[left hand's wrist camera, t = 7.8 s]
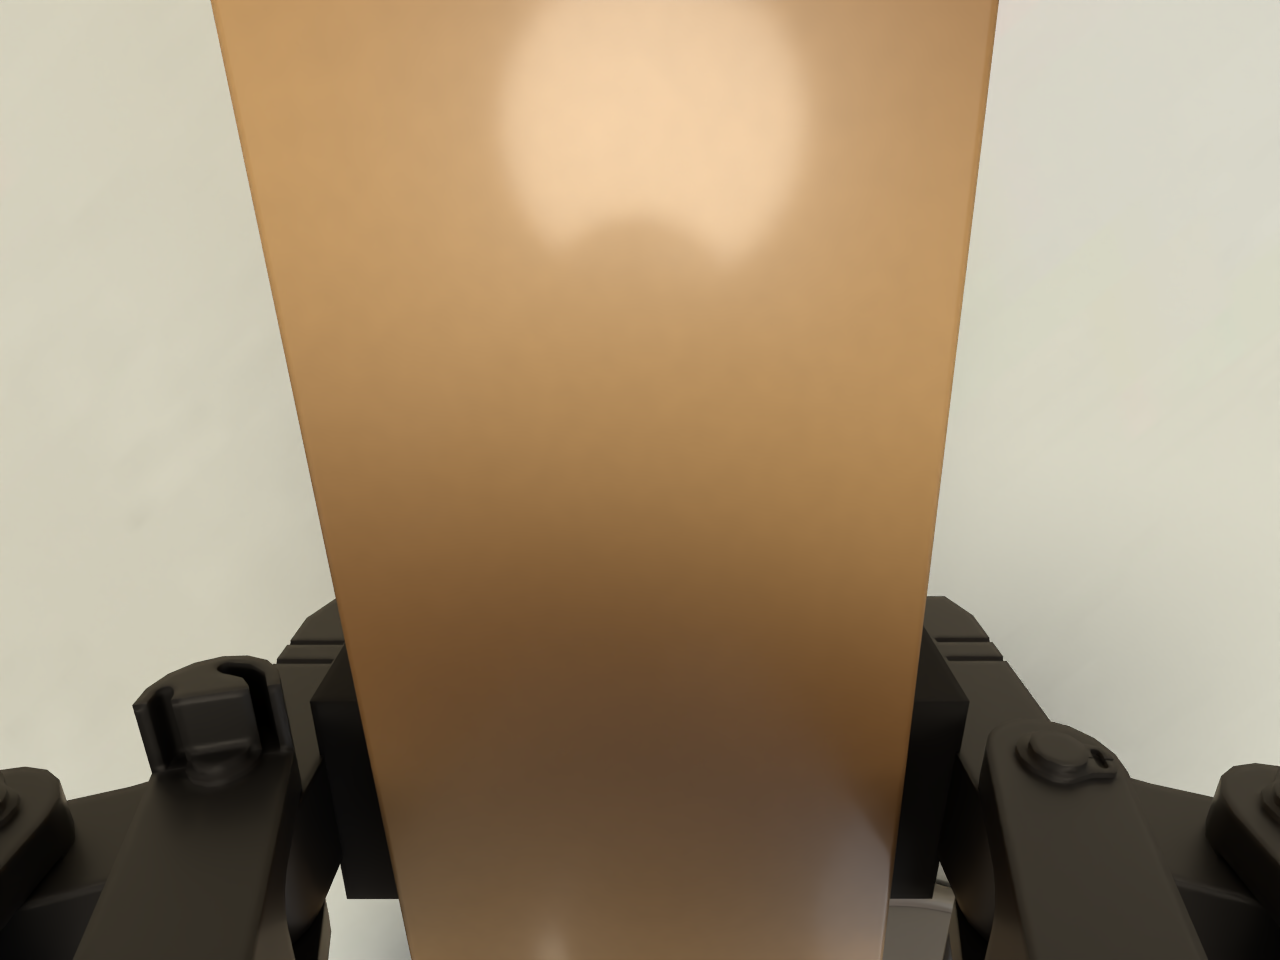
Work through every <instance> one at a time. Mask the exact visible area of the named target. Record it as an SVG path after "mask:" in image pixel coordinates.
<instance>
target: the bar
mask: <svg viewBox="0 0 1280 960" xmlns="http://www.w3.org/2000/svg"><path fill="white" fill-rule="evenodd" d="M211 4H212V9H213V14H214V19H215V23H216V28H217V33H218V38H219V42H220V47H221V52H222V57H223V62H224V66H225V71H226V76H227V81H228V85H229V90H230V95H231V100H232V104H233V109H234V114H235V119H236V124H237V128H238V133H239V138H240V143H241V147H242V152H243V157H244V162H245V167H246V171H247V176H248V181H249V186H250V190H251V195H252V200H253V205H254V210H255V214H256V219H257V224H258V229H259V233H260V238H261V243H262V248H263V253H264V257H265V262H266V267H267V272H268V276H269V281H270V286H271V291H272V295H273V300H274V305H275V310H276V315H277V319H278V324H279V329H280V334H281V338H282V343H283V348H284V353H285V358H286V362H287V367H288V372H289V377H290V381H291V386H292V391H293V396H294V401H295V405H296V410H297V415H298V420H299V424H300V429H301V434H302V439H303V444H304V448H305V453H306V458H307V463H308V467H309V472H310V477H311V482H312V486H313V491H314V496H315V501H316V506H317V510H318V515H319V520H320V525H321V529H322V534H323V539H324V544H325V549H326V553H327V558H328V563H329V568H330V572H331V577H332V582H333V587H334V592H335V596H336V601H337V606H338V611H339V615H340V620H341V625H342V630H343V635H344V639H345V644H346V649H347V654H348V658H349V663H350V668H351V673H352V677H353V682H354V687H355V692H356V697H357V701H358V706H359V711H360V716H361V720H362V725H363V730H364V735H365V740H366V744H367V749H368V754H369V759H370V763H371V768H372V773H373V778H374V783H375V787H376V792H377V797H378V802H379V806H380V811H381V816H382V821H383V826H384V830H385V835H386V840H387V845H388V849H389V854H390V859H391V864H392V868H393V873H394V878H395V883H396V888H397V892H398V897H399V902H400V907H401V911H402V916H403V921H404V926H405V931H406V935H407V940H408V945H409V950H410V954H411V959H412V960H883V951H884V943H885V935H886V927H887V919H888V910H889V902H890V894H891V886H892V877H893V869H894V861H895V853H896V844H897V836H898V828H899V820H900V811H901V803H902V795H903V787H904V778H905V770H906V762H907V754H908V745H909V737H910V729H911V721H912V713H913V704H914V696H915V688H916V680H917V671H918V663H919V655H920V647H921V638H922V630H923V622H924V614H925V605H926V597H927V589H928V581H929V572H930V564H931V556H932V548H933V539H934V531H935V523H936V515H937V506H938V498H939V490H940V482H941V474H942V465H943V457H944V449H945V441H946V432H947V424H948V416H949V408H950V399H951V391H952V383H953V375H954V366H955V358H956V350H957V342H958V333H959V325H960V317H961V309H962V300H963V292H964V284H965V276H966V268H967V259H968V251H969V243H970V235H971V226H972V218H973V210H974V202H975V193H976V185H977V177H978V169H979V160H980V152H981V144H982V136H983V127H984V119H985V111H986V103H987V94H988V86H989V78H990V70H991V62H992V53H993V45H994V37H995V29H996V20H997V12H998V4H999V0H211Z"/></svg>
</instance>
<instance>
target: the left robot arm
mask: <svg viewBox="0 0 1280 960" xmlns="http://www.w3.org/2000/svg"><path fill="white" fill-rule="evenodd" d="M132 706H133V709H134V713H135V716H136V720H137V723H138V727H139V730H140V733H141V737H142V740H143V744H144V747H145V750H146V754H147V757H148V761H149V764H150V768H151V771H152V775H151V777H150V780H149V782H145V783H142V784H138V785H135V786H131V787H127V788H122V789H118V790H113V791H109V792H104V793H100V794H95V795H91V796H86V797H82V798H77V799H72V800H68V801H67V800H66V797H65V795H64V792H63V789H62V786H61V783H60V780H59V779H58V778H56V777H55V776H54V775H53V774H52V773H50V772H49V771H48V770H44V769H38V768H31V767H19V768H12V769H5V770H0V960H328V956H329V947H330V937H331V927H330V920H329V913H328V908H327V904H326V899H325V898H326V896H327V893H328V891H329V889H330V886H331V884H332V882H333V879H334V877H335V875H336V872H337V870H338V868H339V865H340V864H341V870H342V875H343V880H344V885H345V891H346V896H347V899H399V897H398V892H397V888H396V883H395V878H394V873H393V868H392V864H391V859H390V854H389V849H388V845H387V840H386V835H385V830H384V826H383V821H382V816H381V811H380V806H379V802H378V797H377V792H376V787H375V783H374V778H373V773H372V768H371V763H370V759H369V754H368V749H367V744H366V740H365V735H364V730H363V725H362V720H361V716H360V711H359V706H358V701H357V697H356V692H355V687H354V682H353V677H352V673H351V668H350V663H349V658H348V654H347V649H346V644H345V639H344V635H343V630H342V625H341V620H340V615H339V611H338V606H337V601H336V599H334V600H333V601H331V602H330V603H328V604H327V605H325V606H324V607H322V608H321V609H319V610H318V611H317V612H315V613H314V614H312V615H311V616H309V617H308V618H307V619H306V620H305V621H304V623H303V624H302V625H301V627H300V628H299V630H298V631H297V632H296V634H295V635H294V636H293V638H292V639H291V643H290V645H287V646H286V647H285V649H284V650H283V651H282V653H281V654H280V656H279V657H278V658H277V664H273V665H272V664H271V663H270V662H269V661H268V660H264V659H260V658H256V657H252V656H222V657H218V658H214V659H209V660H205V661H201V662H196V663H193V664H191V665H188V666H186V667H184V668H181V669H179V670H177V671H174V672H172V673H169V674H167V675H166V676H164V677H163V678H162V679H160V680H159V681H157V682H156V683H154V684H153V685H151V686H150V687H148V688H147V689H146V690H145V691H144V692H143V693H142V694H141V696H140V697H139V698H138V699H137V700H136V702H135V703H134V704H133V705H132ZM939 861H940V863H941V865H942V867H943V870H944V872H945V874H946V877H947V879H948V881H949V884H950V886H951V888H950V887H946V886H942V885H939V884H935V882H936V877H937V871H938V866H939ZM883 960H1280V766H1273V765H1265V764H1258V763H1253V764H1246V765H1239V766H1233V767H1232V768H1231V769H1229V770H1228V771H1227V772H1226V773H1224V774H1223V775H1222V776H1221V778H1220V781H1219V784H1218V786H1217V789H1216V792H1215V795H1214V797H1210V796H1205V795H1200V794H1196V793H1191V792H1187V791H1182V790H1177V789H1173V788H1168V787H1164V786H1159V785H1155V784H1150V783H1147V782H1143V781H1140V780H1136V779H1133V778H1130V776H1129V773H1128V772H1127V770H1126V769H1125V767H1124V766H1123V765H1122V763H1121V762H1120V760H1119V759H1118V758H1117V756H1116V755H1115V754H1114V753H1113V752H1111V751H1110V750H1109V749H1108V748H1106V747H1105V746H1104V745H1102V744H1101V743H1100V742H1099V741H1097V740H1096V739H1095V738H1093V737H1091V736H1088V735H1086V734H1084V733H1082V732H1080V731H1078V730H1076V729H1074V728H1072V727H1070V726H1066V725H1062V724H1059V723H1055V722H1051V721H1050V720H1049V719H1048V717H1047V716H1046V714H1045V713H1044V712H1043V710H1042V709H1041V708H1040V706H1039V705H1038V704H1037V702H1036V701H1035V699H1034V698H1033V697H1032V695H1031V694H1030V693H1029V691H1028V690H1027V689H1026V687H1025V686H1024V684H1023V683H1022V682H1021V680H1020V679H1019V678H1018V676H1017V675H1016V674H1015V672H1014V671H1013V669H1012V668H1011V667H1010V665H1009V664H1008V663H1007V661H1003V656H1002V654H1001V653H1000V652H999V650H998V649H997V648H996V646H995V645H994V643H993V642H990V641H989V637H988V635H987V634H986V633H985V631H984V630H983V628H982V627H981V626H980V624H979V623H978V622H977V620H976V619H975V618H974V616H973V615H971V614H970V613H969V612H967V611H966V610H964V609H963V608H961V607H960V606H958V605H957V604H955V603H954V602H952V601H951V600H949V599H948V598H946V597H945V596H927V597H926V605H925V614H924V622H923V630H922V638H921V647H920V655H919V663H918V671H917V680H916V688H915V696H914V704H913V713H912V721H911V729H910V737H909V745H908V754H907V762H906V770H905V778H904V787H903V795H902V803H901V811H900V820H899V828H898V836H897V844H896V853H895V861H894V869H893V877H892V886H891V894H890V902H889V910H888V919H887V927H886V935H885V943H884V951H883Z"/></svg>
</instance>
